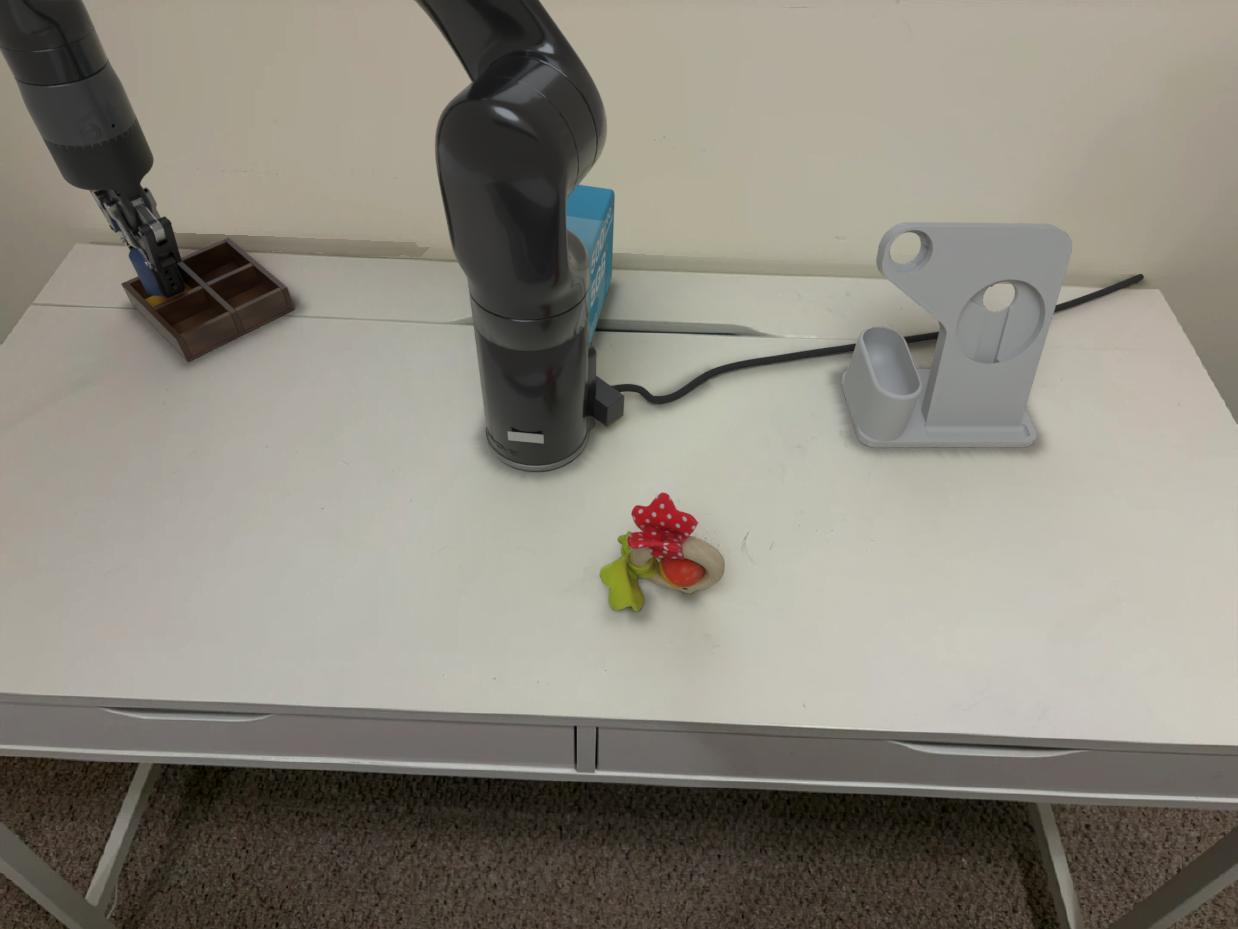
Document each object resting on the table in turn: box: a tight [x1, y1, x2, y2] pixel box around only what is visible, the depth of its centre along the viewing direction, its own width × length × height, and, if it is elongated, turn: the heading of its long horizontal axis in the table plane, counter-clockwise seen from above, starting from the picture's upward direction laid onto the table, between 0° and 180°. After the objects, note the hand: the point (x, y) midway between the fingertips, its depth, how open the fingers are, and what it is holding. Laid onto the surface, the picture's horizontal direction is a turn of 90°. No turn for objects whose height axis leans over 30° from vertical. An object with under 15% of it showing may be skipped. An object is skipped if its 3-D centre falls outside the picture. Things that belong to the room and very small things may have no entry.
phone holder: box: [840, 221, 1073, 448], centre depth 73 cm, size 17×10×18 cm, turn 92°
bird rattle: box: [599, 492, 726, 613], centre depth 62 cm, size 6×11×9 cm
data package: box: [566, 184, 616, 345], centre depth 83 cm, size 12×4×12 cm, turn 169°
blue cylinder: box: [128, 248, 183, 296], centre depth 82 cm, size 4×4×4 cm
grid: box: [121, 237, 295, 363], centre depth 85 cm, size 12×12×3 cm
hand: (164, 282), depth 83 cm, fingers closed on blue cylinder, 3 cm apart
